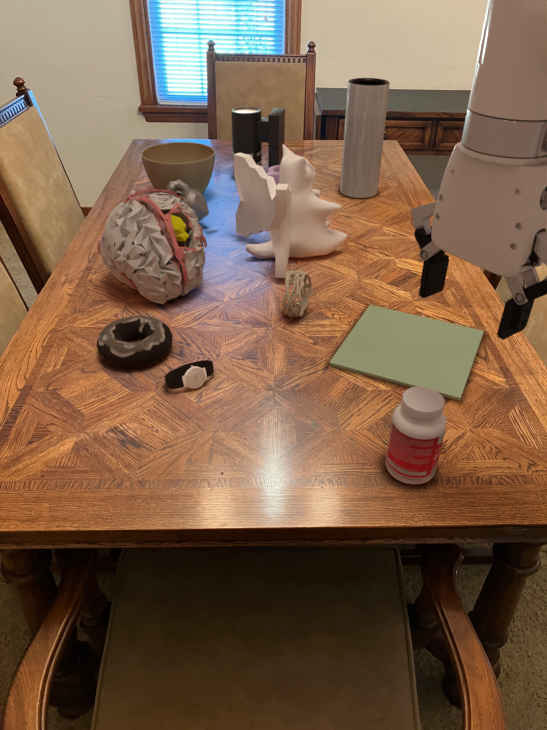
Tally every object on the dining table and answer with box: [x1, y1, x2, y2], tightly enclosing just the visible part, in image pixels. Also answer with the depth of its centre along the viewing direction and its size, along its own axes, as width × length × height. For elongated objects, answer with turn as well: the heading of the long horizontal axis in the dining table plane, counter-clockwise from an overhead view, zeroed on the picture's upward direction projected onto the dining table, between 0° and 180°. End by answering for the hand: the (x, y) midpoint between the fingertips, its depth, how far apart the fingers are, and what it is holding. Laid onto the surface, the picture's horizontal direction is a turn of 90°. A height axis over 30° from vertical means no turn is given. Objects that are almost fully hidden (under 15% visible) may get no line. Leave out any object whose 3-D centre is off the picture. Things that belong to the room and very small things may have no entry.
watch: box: [164, 359, 215, 390], centre depth 84 cm, size 8×5×4 cm, turn 126°
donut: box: [96, 315, 174, 369], centre depth 90 cm, size 12×12×4 cm
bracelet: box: [281, 269, 313, 318], centre depth 99 cm, size 4×8×8 cm, turn 166°
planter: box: [339, 77, 390, 199], centre depth 146 cm, size 10×10×27 cm
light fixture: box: [230, 106, 286, 179], centre depth 158 cm, size 10×14×18 cm
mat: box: [328, 304, 485, 402], centre depth 92 cm, size 20×20×1 cm
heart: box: [167, 180, 210, 223], centre depth 130 cm, size 10×10×12 cm
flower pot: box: [140, 141, 216, 196], centre depth 145 cm, size 18×18×12 cm
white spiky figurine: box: [232, 143, 348, 279], centre depth 116 cm, size 25×21×21 cm
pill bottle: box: [385, 386, 447, 485], centre depth 68 cm, size 6×6×11 cm
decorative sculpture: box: [97, 188, 208, 305], centre depth 105 cm, size 19×21×20 cm
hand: (467, 312), depth 58 cm, fingers open, 9 cm apart
